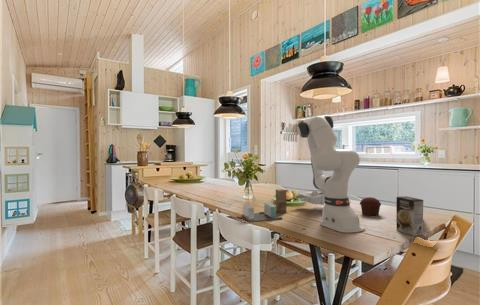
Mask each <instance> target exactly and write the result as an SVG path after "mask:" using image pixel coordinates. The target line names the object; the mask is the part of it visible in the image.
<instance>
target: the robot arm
mask: <svg viewBox="0 0 480 305" xmlns="http://www.w3.org/2000/svg"><path fill="white" fill-rule="evenodd" d="M296 126H297V128H296V130H297V134H298V135H299V136H300V137H301V138H303V139H304V138H305V139H307V145H308V148H309V153H310V164H311V168H312V174H313V176H312V178H313V179H312V183H313V187H314V188H315V189H317V190H313V191H312V192H298V193H297V195H294V196H293V198H294V199H296V200H297V199H299V200H300V201H301V202H307V203H310V204H312V205H322V206H323V205H324V206H323V208H322V213H321V214H322V216H321V221H320V222H319V225H320V226H322V227H325V228H328V229H331V230H334V231H337V232H339V233H346V234H347V233H358V232H364V231H366V228H365V226H363V225H361V224H360V223H361V222H360V217H359V215H358V214H357V213H356V212H355V211H354V209H353V208H352V207H351V204H352V202H351V201H350V199H349V197H348V186H349V181H350V177H351V174H352V173H353V171H354V170H355V169H356V168H357V167H358V166H359V164H360V161H361V160H360V156H359V154H358V152H357V151H354V150H351V149H336V148H334V147H335V146H336V144H337V141H338V140H337V139H338V138H337V136H336V133H335V132H334V130H333V128H334V120H333V118H332V117H331V116H330V115H329V114H323V115H317V116H314V117H311V118H308V119H305V120H302V121H300V122H298V124H297V125H296ZM324 172H332V174H331V175H324Z"/></svg>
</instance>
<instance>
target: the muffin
mask: <svg viewBox="0 0 480 305" xmlns="http://www.w3.org/2000/svg"><path fill="white" fill-rule="evenodd" d="M359 205H360V207H361V214H362V216H366V217H379V213H380V210H381V209H380V208H381V206H382V203H381V202H380V200H378V199H377V198H375V197H371V196H370V197H365V198H362V199H361V200H360V202H359Z"/></svg>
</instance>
